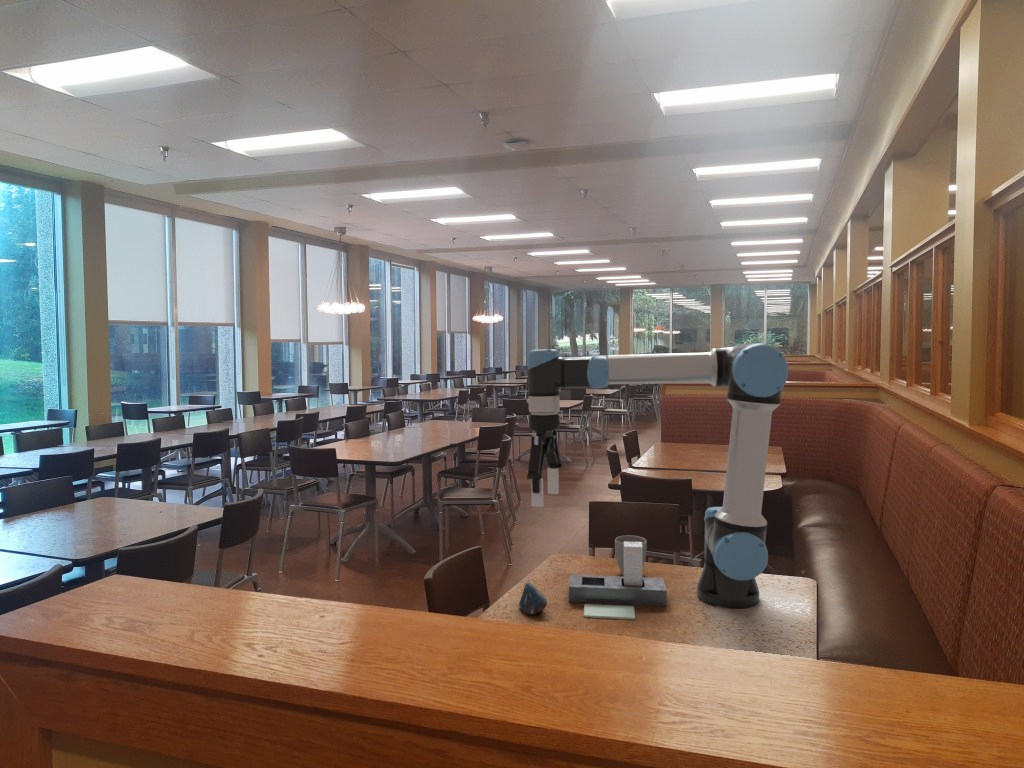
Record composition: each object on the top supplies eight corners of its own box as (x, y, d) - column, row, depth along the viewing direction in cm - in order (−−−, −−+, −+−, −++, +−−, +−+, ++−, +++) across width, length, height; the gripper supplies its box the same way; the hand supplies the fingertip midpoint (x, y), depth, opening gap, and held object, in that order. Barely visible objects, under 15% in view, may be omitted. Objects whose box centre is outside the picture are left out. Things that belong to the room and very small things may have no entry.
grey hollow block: (663, 593, 178) (663, 578, 177) (666, 606, 169) (666, 590, 169) (570, 589, 181) (570, 574, 181) (568, 602, 172) (568, 586, 172)
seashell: (537, 610, 160) (554, 576, 167) (506, 606, 166) (524, 573, 172) (548, 627, 163) (564, 594, 170) (517, 623, 168) (534, 590, 175)
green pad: (633, 608, 168) (633, 606, 168) (635, 619, 161) (635, 617, 161) (584, 606, 169) (584, 604, 169) (583, 617, 162) (583, 615, 162)
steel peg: (641, 595, 176) (641, 542, 175) (642, 602, 172) (642, 547, 171) (623, 594, 177) (623, 541, 176) (624, 601, 172) (624, 546, 171)
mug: (616, 567, 199) (616, 534, 198) (647, 569, 196) (647, 536, 196) (611, 581, 187) (611, 546, 186) (644, 583, 185) (644, 548, 184)
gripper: (543, 408, 179) (545, 488, 180) (512, 418, 155) (514, 511, 156) (571, 408, 176) (573, 489, 178) (544, 419, 153) (546, 513, 154)
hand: (545, 499), depth 167 cm, fingers open, 13 cm apart
